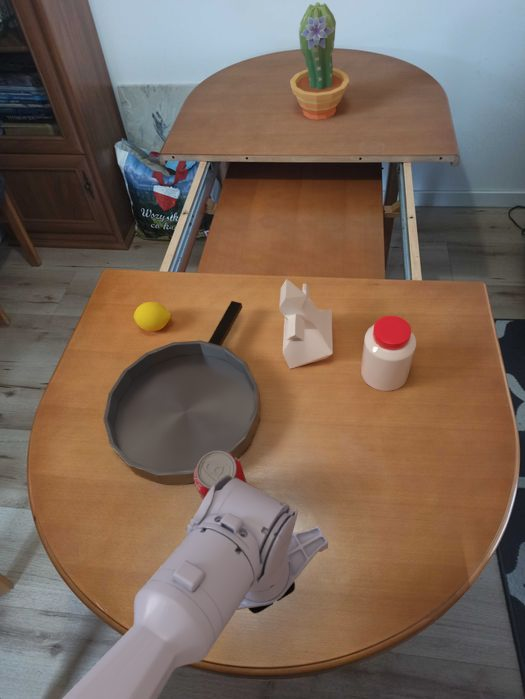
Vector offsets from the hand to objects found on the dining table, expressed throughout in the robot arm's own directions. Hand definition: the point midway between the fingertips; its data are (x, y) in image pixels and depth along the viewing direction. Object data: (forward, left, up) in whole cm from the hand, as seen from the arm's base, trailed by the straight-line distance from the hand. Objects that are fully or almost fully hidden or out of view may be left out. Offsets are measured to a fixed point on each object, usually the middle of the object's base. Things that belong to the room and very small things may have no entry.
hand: (267, 590), depth 56 cm
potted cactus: (+117, +31, -8) cm, 121 cm away
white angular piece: (+41, +9, -8) cm, 43 cm away
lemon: (+36, +37, -8) cm, 52 cm away
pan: (+26, +23, -8) cm, 36 cm away
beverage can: (+10, +10, -8) cm, 17 cm away
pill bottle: (+39, -5, -8) cm, 40 cm away
